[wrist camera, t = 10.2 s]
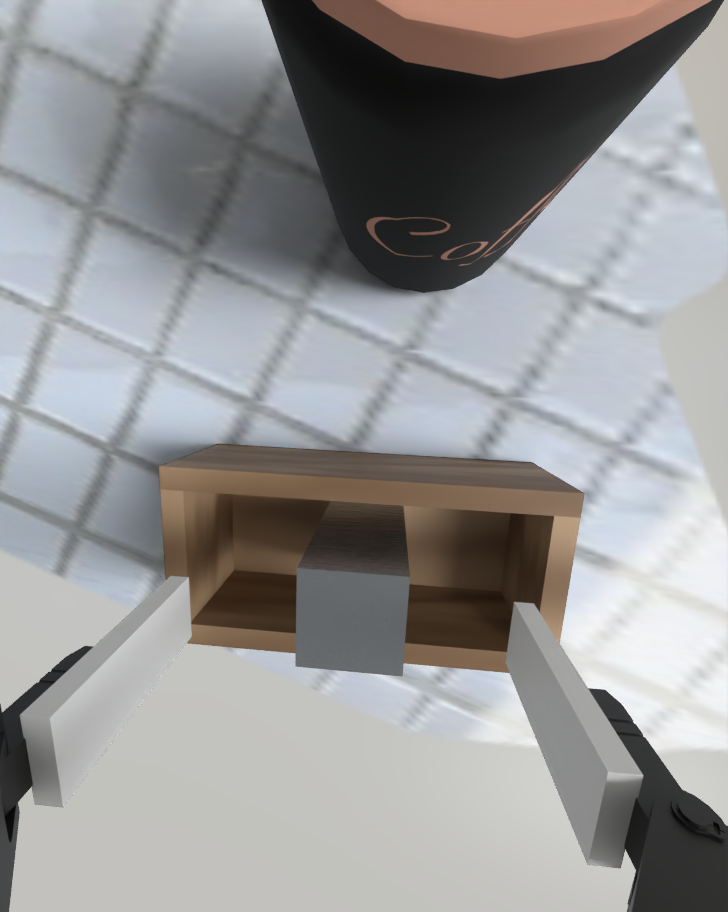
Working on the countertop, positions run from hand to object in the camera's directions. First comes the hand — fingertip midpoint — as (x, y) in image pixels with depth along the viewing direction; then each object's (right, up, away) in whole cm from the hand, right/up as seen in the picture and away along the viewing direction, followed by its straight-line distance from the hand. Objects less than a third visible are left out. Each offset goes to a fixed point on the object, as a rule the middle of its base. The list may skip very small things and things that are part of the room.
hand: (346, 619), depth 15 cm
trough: (+1, +2, +11) cm, 11 cm away
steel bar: (+1, +2, +10) cm, 10 cm away
